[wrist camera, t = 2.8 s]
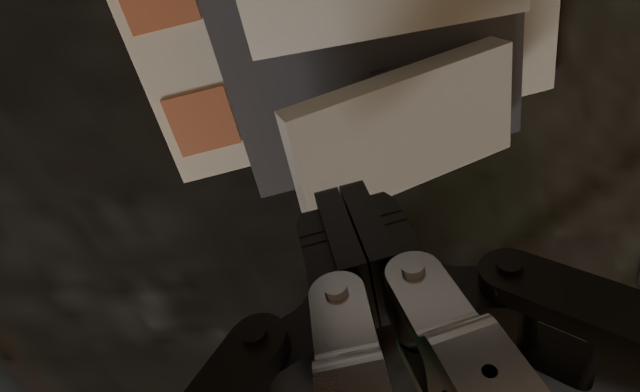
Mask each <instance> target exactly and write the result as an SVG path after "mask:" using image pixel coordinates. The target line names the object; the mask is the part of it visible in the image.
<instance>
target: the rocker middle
mask: <svg viewBox="0 0 640 392" xmlns="http://www.w3.org/2000/svg"><path fill="white" fill-rule="evenodd" d="M236 3H237V7H238V10H239V14H240V18H241V21H242V25H243V28H244V32H245V35H246V39H247V42H248V46H249V50H250V53H251V57H252V60H253V61H257V60H263V59H268V58H274V57H279V56H285V55H290V54H296V53H301V52H307V51H312V50H318V49H323V48H329V47H334V46H340V45H345V44H351V43H356V42H362V41H367V40H373V39H378V38H384V37H390V36H395V35H401V34H406V33H412V32H417V31H423V30H428V29H434V28H439V27H445V26H450V25H456V24H461V23H467V22H472V21H478V20H483V19H489V18H494V17H500V16H505V15H511V14H516V13H522V12H528V11H530V0H236Z"/></svg>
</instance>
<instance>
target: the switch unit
mask: <svg viewBox="0 0 640 392" xmlns="http://www.w3.org/2000/svg"><path fill="white" fill-rule="evenodd" d="M106 1H107V3H108V5H109V8H110V10H111V12H112V15H113V17H114V20H115V22H116V24H117V27H118V29H119V31H120V34H121V36H122V38H123V41H124V43H125V45H126V48H127V50H128V53H129V55H130V57H131V60H132V62H133V64H134V67H135V69H136V71H137V74H138V76H139V78H140V81H141V83H142V85H143V88H144V90H145V93H146V95H147V97H148V100H149V102H150V104H151V107H152V109H153V111H154V114H155V116H156V118H157V121H158V123H159V126H160V128H161V130H162V133H163V135H164V137H165V140H166V142H167V144H168V147H169V149H170V151H171V154H172V156H173V159H174V161H175V163H176V166H177V168H178V170H179V173H180V175H181V177H182V180H183V182H184V183H186V182H190V181H194V180H198V179H202V178H206V177H210V176H214V175H218V174H222V173H225V172H229V171H233V170H237V169H241V168H245V167H249V166H251V168H252V171H253V174H254V177H255V180H256V183H257V186H258V189H259V192H260V196H261V198H264V197H268V196H271V195H275V194H279V193H283V192H287V191H291V190H295V186H294V183H293V179H292V175H291V172H290V168H289V164H288V161H287V157H286V153H285V150H284V146H283V142H282V139H281V135H280V131H279V128H278V124H277V120H276V117H275V113H274V111H277V110H280V109H283V108H285V107H288V106H291V105H294V104H297V103H300V102H303V101H305V100H308V99H311V98H314V97H317V96H320V95H323V94H326V93H328V92H331V91H334V90H337V89H340V88H343V87H346V86H349V85H351V84H354V83H357V82H360V81H363V80H366V79H369V78H371V77H374V76H377V75H380V74H383V73H386V72H389V71H392V70H394V69H397V68H400V67H403V66H406V65H409V64H412V63H415V62H417V61H420V60H423V59H426V58H429V57H432V56H435V55H438V54H440V53H443V52H446V51H449V50H452V49H455V48H458V47H460V46H463V45H466V44H469V43H472V42H475V41H478V40H481V39H483V38H486V37H489V36H493V37H497V38H500V39H504V40H508V41H512V42H513V49H512V89H511V128H510V134H512V133H515V132H519V131H520V125H521V99H522V96H526V95H530V94H534V93H538V92H542V91H545V90H549V89H553V88H554V78H555V65H556V52H557V39H558V26H559V13H560V0H530V11H528V12H522V13H516V14H511V15H505V16H500V17H494V18H489V19H483V20H478V21H472V22H467V23H461V24H456V25H450V26H445V27H439V28H434V29H428V30H423V31H417V32H412V33H406V34H401V35H395V36H390V37H384V38H378V39H373V40H367V41H362V42H356V43H351V44H345V45H340V46H334V47H329V48H323V49H318V50H312V51H307V52H301V53H296V54H290V55H285V56H279V57H274V58H268V59H263V60H257V61H253V60H252V57H251V53H250V50H249V46H248V42H247V39H246V35H245V32H244V28H243V25H242V21H241V18H240V14H239V10H238V7H237V3H236V0H106Z"/></svg>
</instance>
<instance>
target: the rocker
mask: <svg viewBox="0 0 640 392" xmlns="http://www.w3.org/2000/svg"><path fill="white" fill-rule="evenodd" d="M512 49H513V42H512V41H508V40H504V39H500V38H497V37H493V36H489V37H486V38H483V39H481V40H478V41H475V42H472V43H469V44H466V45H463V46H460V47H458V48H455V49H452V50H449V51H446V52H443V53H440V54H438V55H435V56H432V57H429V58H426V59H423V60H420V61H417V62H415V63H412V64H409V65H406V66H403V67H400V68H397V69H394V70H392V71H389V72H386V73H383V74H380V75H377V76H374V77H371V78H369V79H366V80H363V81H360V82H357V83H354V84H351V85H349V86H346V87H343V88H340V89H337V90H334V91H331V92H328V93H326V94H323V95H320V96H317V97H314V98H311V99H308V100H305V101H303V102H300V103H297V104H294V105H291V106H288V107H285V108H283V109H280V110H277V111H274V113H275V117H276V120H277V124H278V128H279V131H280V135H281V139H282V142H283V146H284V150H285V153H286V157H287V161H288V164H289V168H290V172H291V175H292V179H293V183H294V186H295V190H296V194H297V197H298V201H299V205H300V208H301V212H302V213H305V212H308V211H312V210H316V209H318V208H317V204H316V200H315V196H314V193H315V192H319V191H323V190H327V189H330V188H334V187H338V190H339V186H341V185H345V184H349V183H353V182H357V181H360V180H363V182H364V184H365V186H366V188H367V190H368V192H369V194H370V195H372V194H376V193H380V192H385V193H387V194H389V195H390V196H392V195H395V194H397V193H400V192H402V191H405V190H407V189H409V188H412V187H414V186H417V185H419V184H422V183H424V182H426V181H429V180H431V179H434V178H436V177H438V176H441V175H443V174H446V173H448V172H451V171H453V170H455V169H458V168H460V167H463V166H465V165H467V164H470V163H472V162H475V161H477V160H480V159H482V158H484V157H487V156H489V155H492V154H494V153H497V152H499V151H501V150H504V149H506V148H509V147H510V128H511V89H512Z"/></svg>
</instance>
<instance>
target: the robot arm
mask: <svg viewBox="0 0 640 392" xmlns="http://www.w3.org/2000/svg"><path fill="white" fill-rule="evenodd" d="M314 196H315V200H316V204H317V208H318V209H316V210H312V211H308V212H305V213H301V215H300V218H299V220H298V223H297V230H298V234H299V238H300V243H301V248H302V252H303V257H304V261H305V266H306V270H307V275H308V279H309V285H310V289H309V293H308V296H307V298H306V300H305V301H304V302H303V304H302V305H301V306H300V307H299V308H297V309H296V310H295V311H293V312H292V313H290V314H288V315H286V316H285V317H283V318H281V319H280V318H279V317H278V316H276V315H273V314H270V313H258V314H253V315H251V316H248V317H246V318H244V319H243V320H241V321H240V322H239V323H237V324H236V325H235V326H234V327H233V329H232V330H231V331H230V332H229V334H228V335H227V336H226V338H225V339H224V340H223V342H222V343H221V344H220V345H219V347H218V348H217V349H216V351H215V352H214V353H213V355H212V356H211V357H210V358H209V360H208V361H207V362H206V364H205V365H204V366H203V367H202V369H201V370H200V371H199V373H198V374H197V375H196V377H195V378H194V379H193V380H192V382H191V383H190V384H189V386H188V387H187V388H186V389H185V391H184V392H392V391H391V387H390V383H389V379H388V375H387V371H386V367H385V363H384V359H383V355H382V351H381V348H380V346H379V342H378V338H377V333H376V328H379V323H378V318H379V320H380V323H381V326H382V327H383V326H386V325H390V324H391V326H392V328H393V331H394V334H395V338H396V344H397V349H398V351H399V353H400V356H401V358H402V360H403V362H404V364H405V366H406V368H407V370H408V372H409V374H410V376H411V378H412V380H413V382H414V384H415V386H416V388H417V390H418V392H640V289H637V288H634V287H631V286H627V285H624V284H621V283H618V282H615V281H612V280H609V279H606V278H603V277H600V276H597V275H594V274H591V273H588V272H585V271H582V270H579V269H576V268H573V267H570V266H567V265H564V264H561V263H558V262H555V261H552V260H549V259H546V258H543V257H540V256H537V255H534V254H531V253H528V252H525V251H521V250H518V249H512V248H502V249H496V250H493V251H490V252H488V253H487V254H485V255H484V256H483V257H482V258H481V259H480V261H479V264H478V266H462V267H459V266H449V265H445V264H442V263H440V261H439V260H438V259H437V258H436V257H434V256H433V255H431V254H428V253H426V251H425V249H424V248H423V246H422V244H421V242H420V241H419V239H418V237H417V235H416V234H415V232H414V230H413V228H412V227H411V225H410V223H409V221H407V218H406V216H405V214H404V213H403V212H402V209H401V207H400V206H399V204H398V202H397V200H396V199H395V198H393V197H392V196H390V195H389V194H387V193H385V192H380V193H376V194H372V195H370V194H369V192H368V190H367V188H366V186H365V184H364V182H363V180H360V181H357V182H353V183H349V184H345V185H341V186H339V190H338V187H334V188H330V189H327V190H323V191H319V192H315V193H314ZM638 282H639V287H640V271H639V279H638ZM377 315H378V317H377ZM538 321H540V322H543V323H545V324H548V325H550V326H552V327H555V328H557V329H560V330H562V331H564V332H567V333H569V334H572V335H574V336H576V337H579V338H581V339H583V340H585V341H587V342H589V343H590V344H589V343H587V342H585V341H582V340H580V339H578V338H575V337H573V336H570V335H568V334H566V333H563V332H561V331H558V330H556V329H554V328H551V327H549V326H546V325H544V324H542V323H539V322H538Z"/></svg>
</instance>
